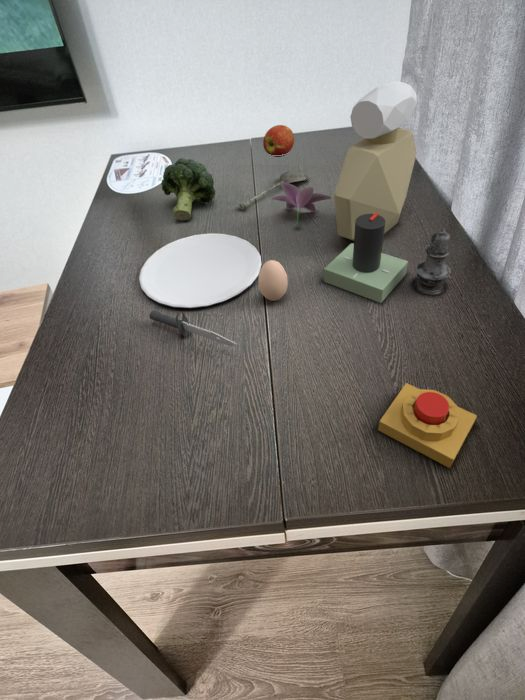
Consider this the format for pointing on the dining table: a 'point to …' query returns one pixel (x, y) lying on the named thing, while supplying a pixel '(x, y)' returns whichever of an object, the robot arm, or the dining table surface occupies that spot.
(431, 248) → the chess piece
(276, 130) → the apple
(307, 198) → the lily
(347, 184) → the tan faceted bottle
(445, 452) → the button box
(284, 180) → the soupspoon
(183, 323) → the knife
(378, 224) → the dial
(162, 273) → the plate
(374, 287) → the dial panel
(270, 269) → the egg
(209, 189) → the vegetable
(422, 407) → the button
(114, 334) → the dining table surface
